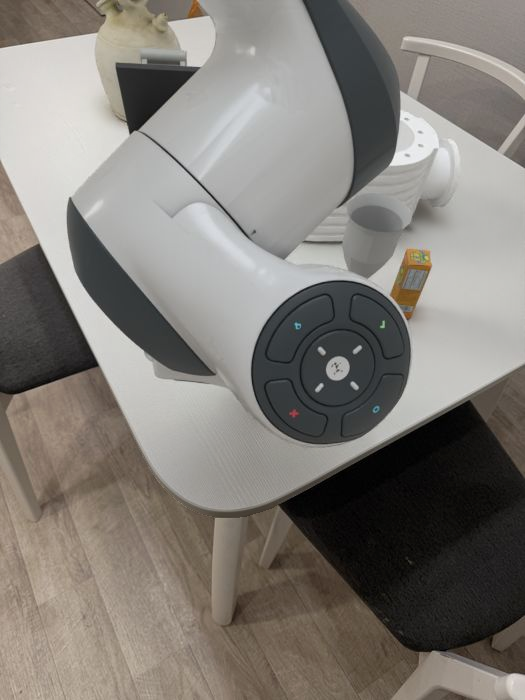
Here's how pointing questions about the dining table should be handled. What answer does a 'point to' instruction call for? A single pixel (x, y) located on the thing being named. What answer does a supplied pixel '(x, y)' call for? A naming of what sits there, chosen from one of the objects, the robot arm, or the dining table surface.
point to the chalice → (373, 231)
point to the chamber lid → (151, 83)
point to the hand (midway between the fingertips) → (255, 320)
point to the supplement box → (411, 280)
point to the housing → (406, 175)
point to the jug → (128, 42)
